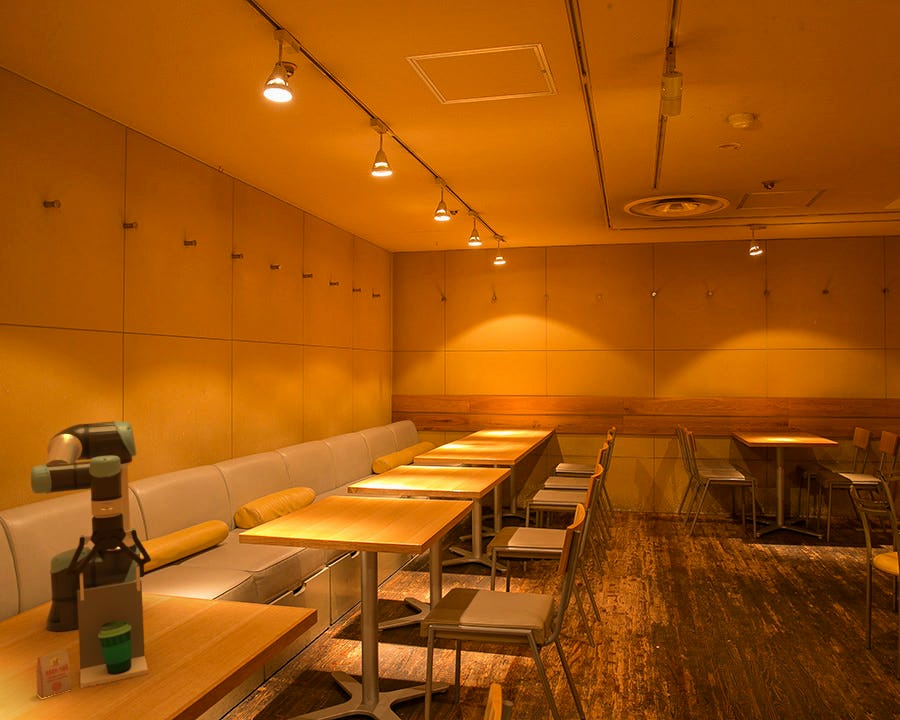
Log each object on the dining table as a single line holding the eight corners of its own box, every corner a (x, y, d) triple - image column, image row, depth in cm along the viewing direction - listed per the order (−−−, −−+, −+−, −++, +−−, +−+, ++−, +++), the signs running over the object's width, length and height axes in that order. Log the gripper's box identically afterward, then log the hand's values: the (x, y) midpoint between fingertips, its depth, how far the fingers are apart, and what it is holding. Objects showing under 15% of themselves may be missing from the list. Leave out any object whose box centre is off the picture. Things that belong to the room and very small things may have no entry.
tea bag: (37, 695, 184) (35, 655, 184) (66, 686, 189) (64, 647, 189) (41, 699, 181) (39, 659, 181) (70, 690, 186) (69, 651, 186)
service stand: (80, 670, 198) (77, 590, 198) (144, 657, 205) (140, 579, 205) (80, 688, 187) (77, 602, 187) (148, 673, 194) (144, 591, 194)
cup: (110, 678, 189) (108, 632, 189) (93, 672, 194) (91, 627, 194) (139, 667, 196) (137, 622, 196) (122, 661, 200) (120, 617, 200)
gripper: (53, 523, 185) (57, 607, 185) (158, 510, 196) (162, 589, 197) (54, 518, 192) (58, 599, 192) (156, 506, 203) (159, 582, 203)
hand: (110, 594), depth 194 cm, fingers open, 13 cm apart
